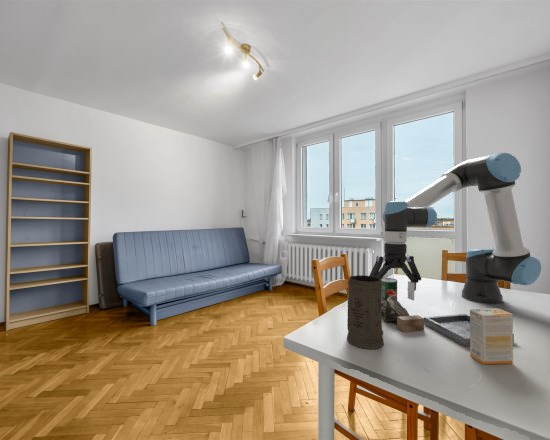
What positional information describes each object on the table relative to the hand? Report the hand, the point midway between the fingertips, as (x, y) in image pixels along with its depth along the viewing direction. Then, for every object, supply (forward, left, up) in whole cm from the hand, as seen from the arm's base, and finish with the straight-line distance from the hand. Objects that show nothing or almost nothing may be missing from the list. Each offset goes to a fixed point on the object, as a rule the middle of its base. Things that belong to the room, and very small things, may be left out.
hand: (394, 300), depth 99 cm
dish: (-16, +14, -7) cm, 23 cm away
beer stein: (+18, +12, -8) cm, 23 cm away
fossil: (-1, 0, -8) cm, 8 cm away
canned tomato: (-7, -16, -8) cm, 19 cm away
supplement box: (-9, +29, -8) cm, 32 cm away
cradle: (0, 0, -7) cm, 7 cm away
